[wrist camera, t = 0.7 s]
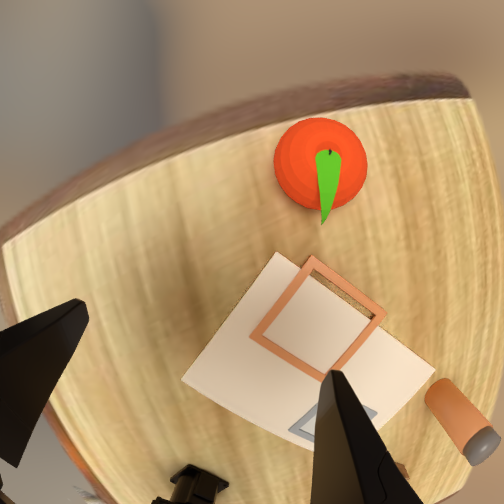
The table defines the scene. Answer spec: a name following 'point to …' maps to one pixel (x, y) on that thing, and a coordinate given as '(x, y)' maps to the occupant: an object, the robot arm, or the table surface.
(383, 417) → the picture sheet
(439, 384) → the marker
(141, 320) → the table surface
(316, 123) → the clementine
